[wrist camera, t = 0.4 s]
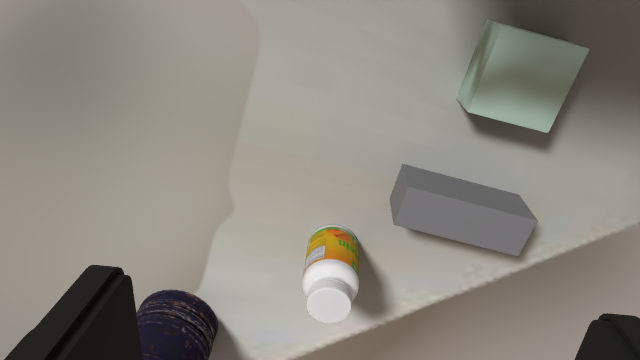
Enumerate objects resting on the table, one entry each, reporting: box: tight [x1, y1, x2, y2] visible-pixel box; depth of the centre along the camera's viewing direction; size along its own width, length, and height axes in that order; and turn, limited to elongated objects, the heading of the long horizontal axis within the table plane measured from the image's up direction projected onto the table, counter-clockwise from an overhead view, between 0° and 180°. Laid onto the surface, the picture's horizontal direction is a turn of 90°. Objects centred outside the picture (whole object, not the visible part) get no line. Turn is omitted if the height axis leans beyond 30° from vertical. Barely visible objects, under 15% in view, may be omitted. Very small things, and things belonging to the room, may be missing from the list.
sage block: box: [457, 19, 590, 133], centre depth 38 cm, size 7×7×4 cm
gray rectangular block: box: [390, 164, 538, 257], centre depth 43 cm, size 4×12×5 cm, turn 75°
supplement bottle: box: [302, 225, 359, 323], centre depth 44 cm, size 5×5×10 cm
